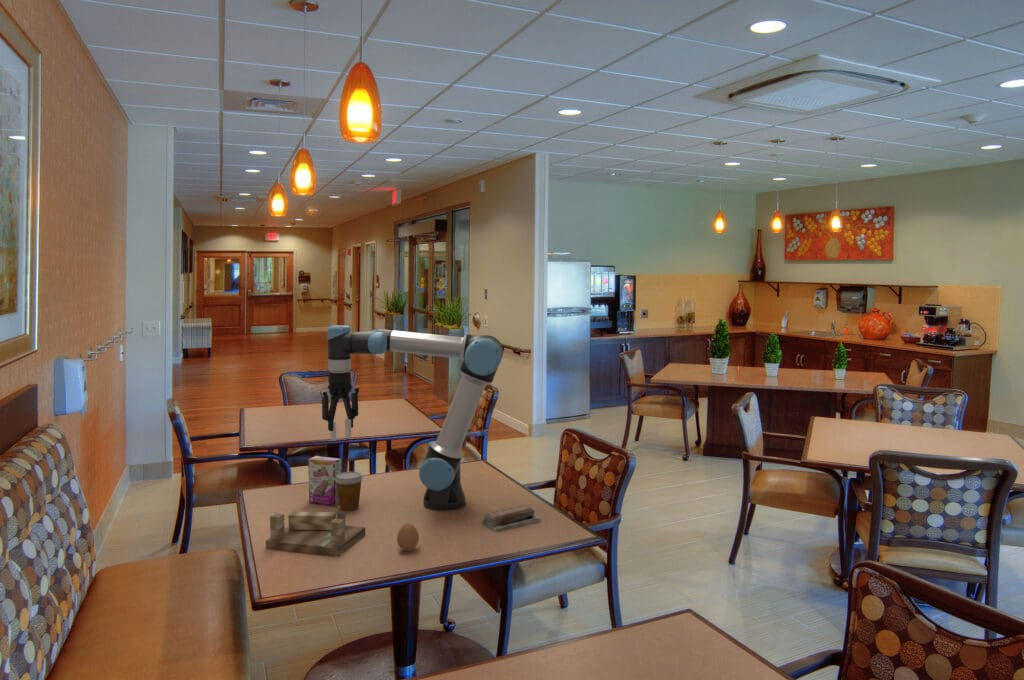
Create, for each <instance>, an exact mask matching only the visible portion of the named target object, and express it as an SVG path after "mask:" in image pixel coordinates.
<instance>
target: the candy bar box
mask: <svg viewBox="0 0 1024 680" xmlns="http://www.w3.org/2000/svg"><path fill="white" fill-rule="evenodd" d="M307 462H308V463H307V464H308V465H307V466H308V497H309V498H308V501H309V502H308V503H312V504H319V505H326V506H332V507H336V506H338V505H340V503H339V496H338V490H337V483H336V481H335V478H336V475H337V474H339V473H343V472H342V459H341V458H338V457H337V458H336V457H330V456H329V457H327V456H319V455H314V456H312V457H310V458H308V461H307ZM337 504H338V505H337ZM335 505H336V506H335Z"/></svg>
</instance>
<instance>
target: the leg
mask: <svg viewBox="0 0 1024 680" xmlns="http://www.w3.org/2000/svg"><path fill="white" fill-rule="evenodd" d="M334 519H337V512H335V511H334V512H331V511H329V512H326V511H322V512H321V511H291V512H290V513H289V514H288V526H289V529H297V530H331V525H330V522H331V521H333V520H334Z"/></svg>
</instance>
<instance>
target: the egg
mask: <svg viewBox="0 0 1024 680" xmlns="http://www.w3.org/2000/svg"><path fill="white" fill-rule="evenodd" d="M396 537H397V538H396V540H397V545H398V546H399V548H400V549H401V550H403V551H405V552H411V551H412V550H415V548H416V547H417V546H418V544H419V540H420V536H419V532H418V530H417V528H416V526H414V525H413V524H411V523H405V524H403V525H401V527H400V529H399V530H398V532H397V535H396Z"/></svg>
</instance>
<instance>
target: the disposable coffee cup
mask: <svg viewBox="0 0 1024 680" xmlns="http://www.w3.org/2000/svg"><path fill="white" fill-rule="evenodd" d="M363 477H364V476H362V473H361V472H358V471H344V472H342V473H339V474H337V475H336V478H335V481H336V483H337V490H338V496H339V509H340V510H341V511H344V510H346V511H345V512H349V511H348V510H352V511H355V509H356V510H358V509H359V506H360V505H359V504H360V495H361V487H362V481H363ZM357 508H358V509H357Z"/></svg>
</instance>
